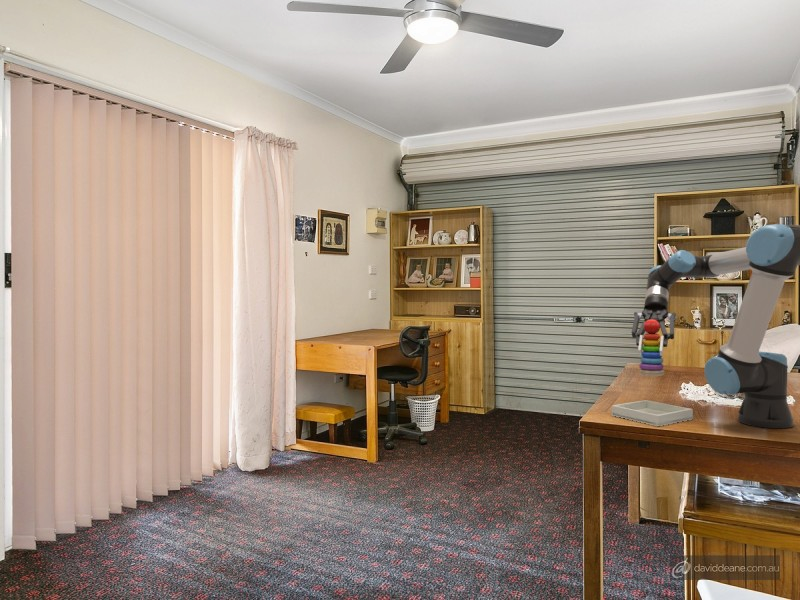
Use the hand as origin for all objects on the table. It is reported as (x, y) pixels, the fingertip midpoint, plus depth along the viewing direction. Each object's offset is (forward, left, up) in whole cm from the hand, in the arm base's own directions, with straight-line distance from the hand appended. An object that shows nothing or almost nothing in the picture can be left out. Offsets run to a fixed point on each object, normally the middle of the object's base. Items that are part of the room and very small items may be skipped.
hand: (650, 352), depth 193 cm
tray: (+2, -3, -22) cm, 22 cm away
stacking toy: (+2, -3, -8) cm, 9 cm away
